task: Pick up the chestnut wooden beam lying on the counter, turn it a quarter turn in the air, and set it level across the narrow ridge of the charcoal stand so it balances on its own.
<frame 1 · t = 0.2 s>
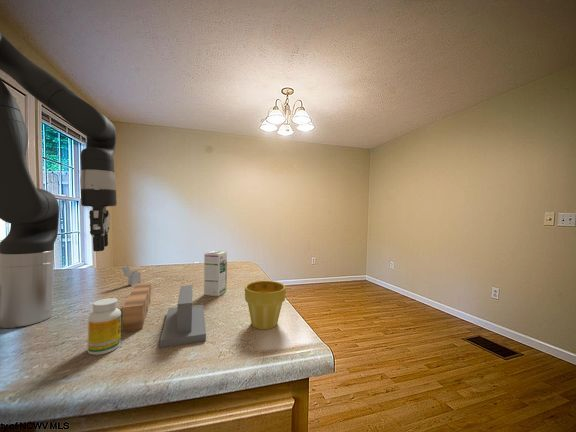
hand: (101, 248, 65), 18 cm above the counter, tool pointing down, fingers open, 8 cm apart
wooden beam: (138, 315, 66), on the counter
lighter: (130, 285, 91), on the counter
supplement bottle: (104, 349, 49), on the counter
ridge stand: (185, 325, 60), on the counter
plant pot: (264, 324, 62), on the counter
syrup box: (215, 293, 85), on the counter
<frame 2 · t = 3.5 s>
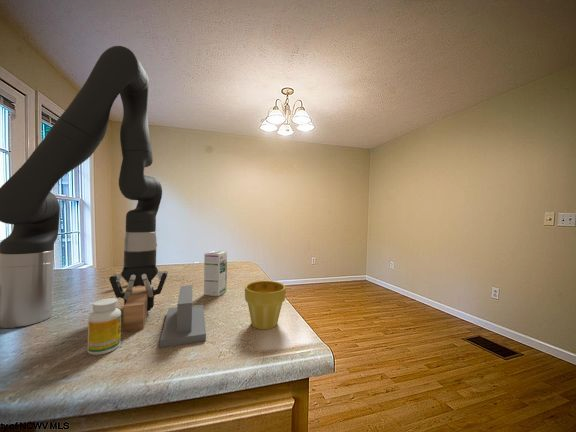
hand: (139, 310, 66), 1 cm above the counter, tool pointing down, fingers closed on wooden beam, 4 cm apart
wooden beam: (139, 314, 66), on the counter, touching gripper
everything else where it was.
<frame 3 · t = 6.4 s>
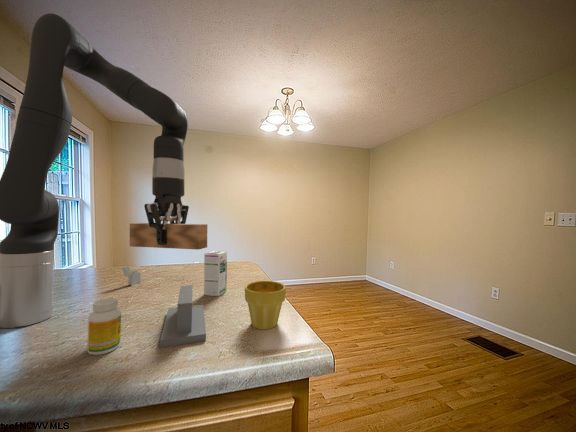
hand: (168, 243, 63), 20 cm above the counter, tool pointing down, fingers closed on wooden beam, 4 cm apart
wooden beam: (168, 246, 63), point 19 cm above the counter, touching gripper
everything else where it was.
when the fingers open (10 cm above the counter, at t = 9.3 s): wooden beam stays where it is, resting on ridge stand.
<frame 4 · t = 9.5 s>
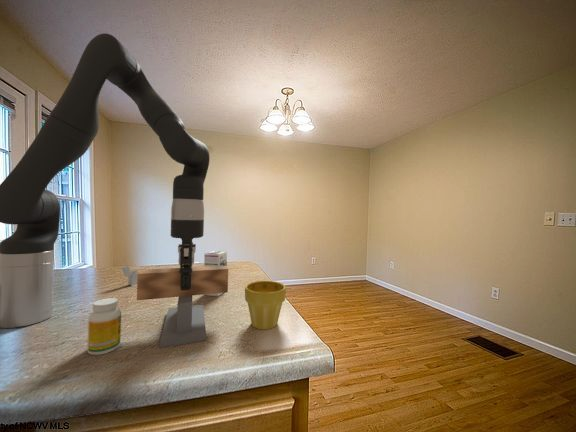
hand: (186, 285, 60), 10 cm above the counter, tool pointing down, fingers open, 6 cm apart
wooden beam: (185, 293, 60), point 8 cm above the counter, touching ridge stand
everything else where it was.
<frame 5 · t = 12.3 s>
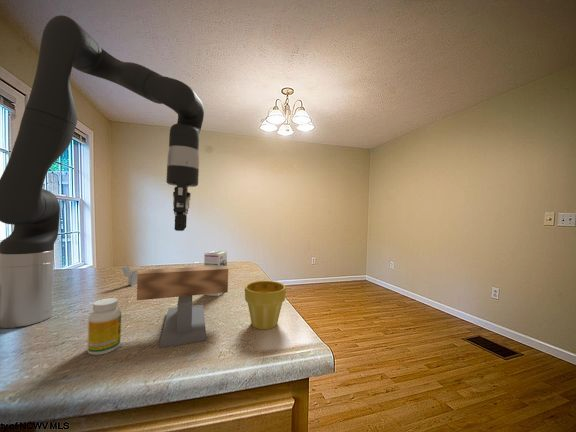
hand: (180, 229, 62), 24 cm above the counter, tool pointing down, fingers open, 8 cm apart
nothing on the counter moved.
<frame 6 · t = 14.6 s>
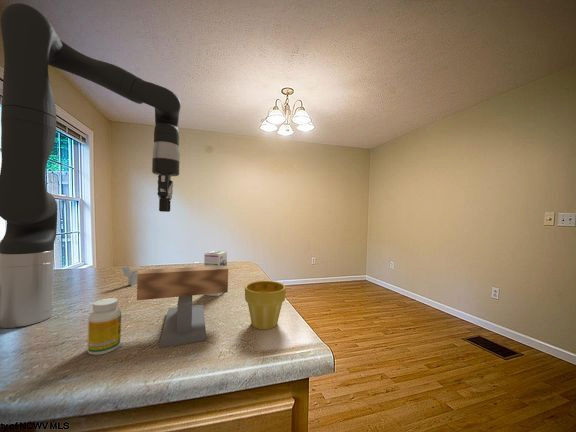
hand: (164, 211, 75), 28 cm above the counter, tool pointing down, fingers open, 8 cm apart
nothing on the counter moved.
at the end: wooden beam inside the target area on the ridge stand (0.1 cm from its centre), point 8.0 cm above the ridge stand's base; wooden beam tilted 0°; wooden beam touching ridge stand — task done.
